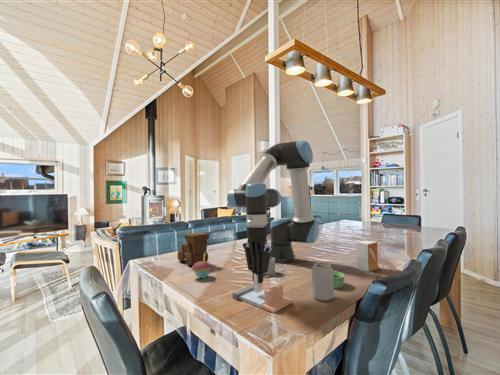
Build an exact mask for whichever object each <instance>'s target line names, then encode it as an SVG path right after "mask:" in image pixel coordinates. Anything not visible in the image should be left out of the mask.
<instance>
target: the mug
mask: <svg viewBox="0 0 500 375" xmlns="http://www.w3.org/2000/svg"><path fill="white" fill-rule="evenodd" d="M275 274H276V262H275V258H273V257H270V261H269V266H268V272H266V273H263V276H264V275H266V276H273V275H275Z"/></svg>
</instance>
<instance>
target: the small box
mask: <svg viewBox="0 0 500 375" xmlns="http://www.w3.org/2000/svg"><path fill="white" fill-rule="evenodd" d="M355 244H356V246H355V249H356V251H355V253H356V270H361V271H364V272H366V273H367V272H368V273H369V272H372V271H375V270H378V259H379V258H378V242H377V241H374V240H373V241H372V240H361V241H356V242H355Z"/></svg>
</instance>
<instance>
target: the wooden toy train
mask: <svg viewBox="0 0 500 375" xmlns="http://www.w3.org/2000/svg"><path fill="white" fill-rule="evenodd" d="M183 238H184V240H185V241H186V242H182V243H181V249H179V250H177V255H176V256H177V260H178V261H179V260H180V261H183V262H184V261H185V263H186V265H187V264H188V265H191V266H193V265H194V264H195V263H196V262H200V261H203V258H204V253H205V261H206V262H208V261H209V254H208V252H207V249H208V240H210V234H209V233H207V232H202V231H201V232H198V231H197V232H185V234H184V235H183ZM180 261H179V262H180ZM188 265H187V266H188Z"/></svg>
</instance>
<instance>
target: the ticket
mask: <svg viewBox="0 0 500 375" xmlns="http://www.w3.org/2000/svg"><path fill="white" fill-rule="evenodd" d="M265 290H266V289H263V288H262V291H260V292H258V293H256V292H254V283H253V284H251V285H248V286H246V287H243V288H240V289H238V290H236V291H234V292H232V299H233V298H235V299H234V300H236V299H237V300H236V301H238V299H239V300H240V299H241V301H242V300H243V302H245V301H246V302H245V303H247V302H248V304H249V303H251V304H250V305H252V304H253V306H254V305H256V306H255V307H257V306H258V307H257V308H259V307H261V308H260V309H263V308H262V305H263V304H265V297H264V291H265Z"/></svg>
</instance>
